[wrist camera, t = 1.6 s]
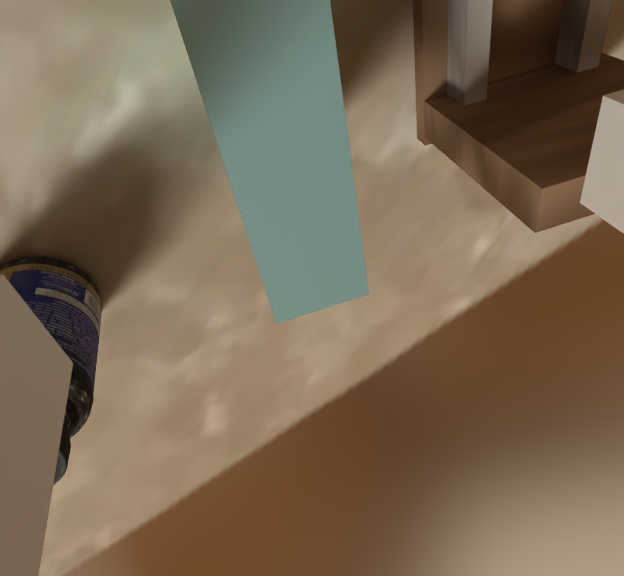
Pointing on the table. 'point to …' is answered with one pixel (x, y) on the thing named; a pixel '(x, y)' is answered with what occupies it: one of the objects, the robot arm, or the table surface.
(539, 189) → the wooden desk organizer
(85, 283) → the pill bottle
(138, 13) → the table surface
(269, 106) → the green rectangular box
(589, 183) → the robot arm
